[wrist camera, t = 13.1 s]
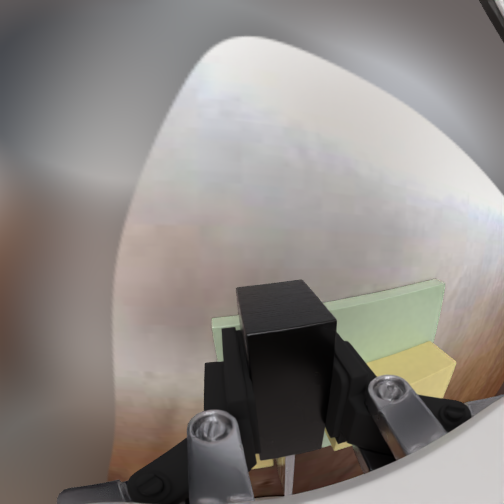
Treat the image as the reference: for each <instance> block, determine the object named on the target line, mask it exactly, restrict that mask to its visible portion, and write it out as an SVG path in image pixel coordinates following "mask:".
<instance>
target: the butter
mask: <svg viewBox="0 0 504 504" xmlns="http://www.w3.org/2000/svg"><path fill="white" fill-rule="evenodd" d="M366 364H367V365H368V366H369V367H370V369H371V370H372V371H373V372H374V374H375V375H376V376H377V377H378V376H381V375H396V376H399V377H401V378H403V379H405V380H406V381H407V382H408V383H409V384H410V386H411V387H412V388H413V389H414V391H415V392H416V393H417V394H419V395H424V396H430V397H436V398H443V396H444V393H445V391H446V389H447V386H448V384H449V381H450V379H451V376H452V374H453V371H454V368H455V365H456V361H455V360H453V359H452V358H451V357H450V356H448V355H447V354H446V353H445V352H443V351H442V350H441V349H440V348H438V347H437V346H436V345H435V344H433V343H432V342H431V341H428V342H425V343H423V344H420V345H417V346H415V347H412V348H409V349H407V350H404V351H401V352H398V353H395V354H392V355H389V356H386V357H383V358H380V359H377V360H374V361H371V362H367V363H366ZM325 433H326V435H327V437H328V439H329V441H330V443H331V446H332V448H333V450H334V451H336V450H339V449H343V448H346V447H349V446H352V445H351V444H348V443H347V442H344V443H341V444H338V443H337V441H336V439H335V437H334V438H330V436H329V435H328V432H327V430H326V428H325Z"/></svg>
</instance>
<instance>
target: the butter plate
mask: <svg viewBox="0 0 504 504" xmlns="http://www.w3.org/2000/svg"><path fill="white" fill-rule="evenodd" d="M444 290H445V283H444V282H442V281H440V280H438V279H432V280H428V281H424V282H420V283H416V284H412V285H408V286H403V287H399V288H394V289H390V290H385V291H381V292H376V293H371V294H366V295H361V296H356V297H351V298H346V299H340V300H335V301H330V302H324V303H323V304H324V305H325V306H326V307H327V309H328V310H329V311H330V312H331V313H332V314H333V316H334V317H335V318H336V319H337V333H338V334H339V335H340V337H341V338H342V339H343V340H344V341H348V342H349V343H350V344H351V345H352V346H353V347H354V349H355V350H356V351H357V352H358V354H359V355H360V356H361V357H362V359H363V360H364V361H365V362H366V363H367V362H371V361H374V360H377V359H380V358H383V357H386V356H389V355H392V354H395V353H398V352H401V351H404V350H407V349H409V348H412V347H415V346H417V345H420V344H423V343H425V342H428V341H431V342H432V343H433V342H434V338H435V334H436V330H437V326H438V321H439V317H440V312H441V307H442V301H443V296H444ZM229 327H236V330H240V323H239V315H236V316H227V317H219V318H212V333H213V339H214V345H215V351H216V356H217V362H221V361H223V347H222V331H221V328H229ZM329 445H331V443H330V441H329V439H328V437H327V435H326V433H325V432H324V437H323V443H322V447H326V446H329Z"/></svg>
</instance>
